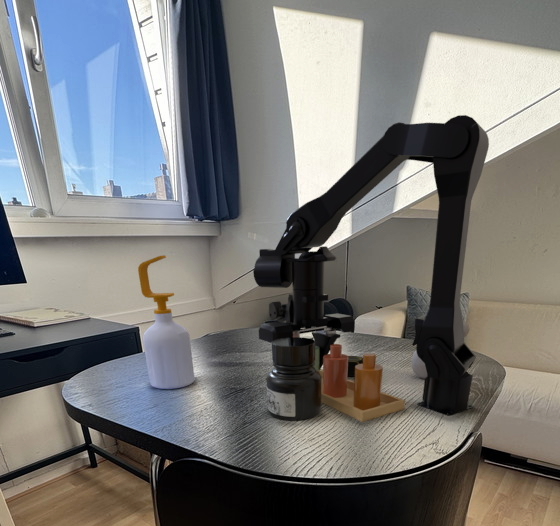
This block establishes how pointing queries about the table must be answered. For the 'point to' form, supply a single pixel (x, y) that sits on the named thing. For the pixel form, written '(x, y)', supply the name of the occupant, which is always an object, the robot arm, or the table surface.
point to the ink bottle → (294, 380)
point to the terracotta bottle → (335, 372)
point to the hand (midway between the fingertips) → (308, 371)
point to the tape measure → (353, 364)
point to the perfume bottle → (419, 365)
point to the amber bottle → (367, 383)
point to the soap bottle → (165, 341)
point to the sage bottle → (317, 351)
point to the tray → (346, 406)
